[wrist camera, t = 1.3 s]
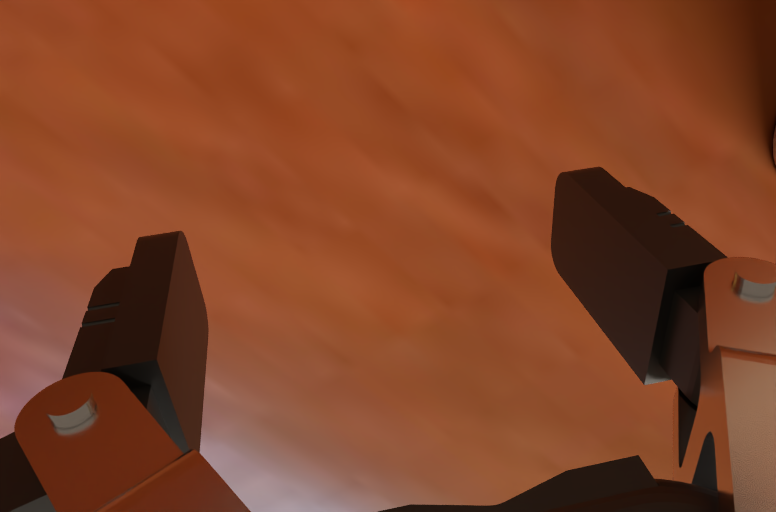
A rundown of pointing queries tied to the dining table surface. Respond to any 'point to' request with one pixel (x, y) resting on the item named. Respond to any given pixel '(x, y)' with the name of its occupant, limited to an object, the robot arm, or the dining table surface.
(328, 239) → the dining table surface
